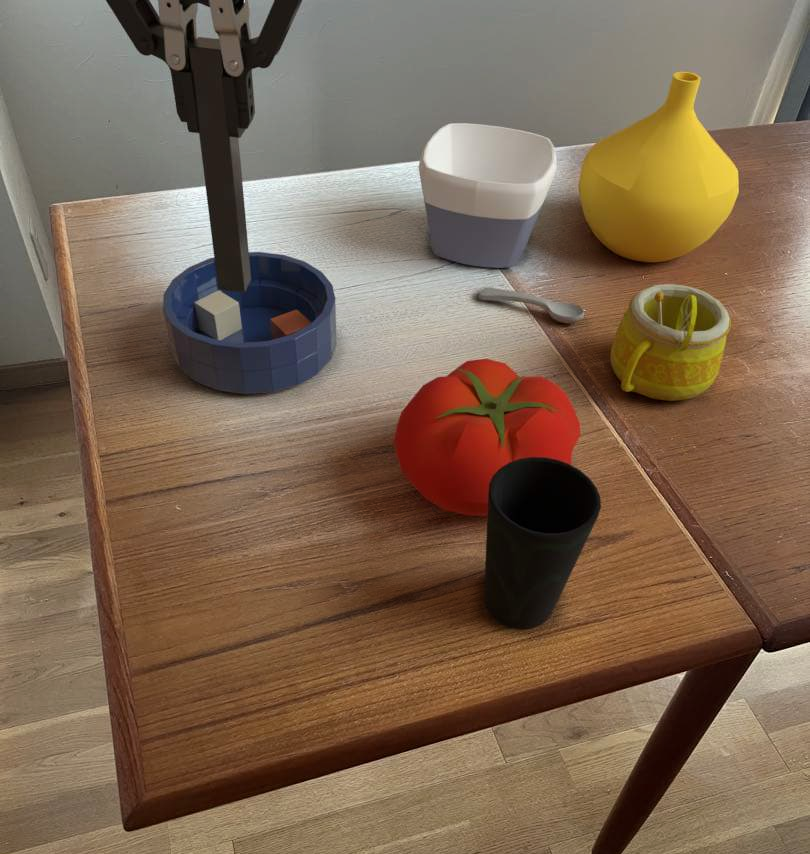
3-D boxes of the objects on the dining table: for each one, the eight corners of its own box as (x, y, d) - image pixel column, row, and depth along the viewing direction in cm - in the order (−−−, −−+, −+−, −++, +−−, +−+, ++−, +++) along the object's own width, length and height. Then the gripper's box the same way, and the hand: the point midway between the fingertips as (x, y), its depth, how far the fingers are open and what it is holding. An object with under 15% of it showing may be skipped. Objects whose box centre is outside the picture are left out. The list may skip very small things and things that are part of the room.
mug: (643, 331, 90) (675, 228, 81) (731, 378, 85) (775, 274, 76) (571, 379, 84) (597, 274, 75) (661, 433, 79) (700, 327, 70)
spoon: (578, 330, 89) (581, 314, 88) (475, 308, 93) (476, 292, 91) (586, 317, 91) (588, 300, 90) (485, 295, 95) (486, 279, 93)
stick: (217, 290, 60) (187, 46, 49) (225, 276, 62) (197, 36, 50) (244, 293, 60) (220, 49, 49) (251, 279, 62) (230, 39, 50)
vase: (725, 289, 96) (789, 119, 82) (569, 273, 97) (605, 103, 83) (705, 213, 108) (758, 53, 94) (566, 200, 109) (598, 40, 95)
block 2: (272, 345, 85) (269, 318, 82) (298, 335, 86) (297, 308, 83) (288, 361, 83) (286, 334, 80) (315, 351, 84) (313, 324, 82)
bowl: (549, 224, 105) (565, 134, 96) (531, 287, 95) (548, 193, 86) (432, 204, 107) (438, 115, 98) (402, 265, 97) (406, 171, 88)
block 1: (198, 328, 86) (194, 302, 83) (222, 316, 87) (218, 289, 85) (218, 341, 85) (214, 315, 82) (242, 329, 86) (238, 302, 84)
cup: (455, 576, 66) (470, 469, 57) (539, 553, 68) (567, 446, 59) (495, 652, 62) (519, 549, 53) (584, 624, 64) (622, 520, 55)
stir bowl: (150, 386, 80) (137, 334, 76) (202, 294, 91) (194, 243, 87) (316, 408, 79) (314, 357, 75) (349, 312, 90) (349, 262, 86)
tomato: (361, 476, 73) (361, 388, 66) (489, 402, 81) (502, 316, 73) (474, 572, 67) (488, 486, 59) (602, 482, 74) (629, 396, 67)
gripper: (3, -240, 38) (92, 144, 51) (299, -214, 37) (312, 168, 50) (68, -258, 43) (134, 96, 56) (330, -235, 42) (334, 118, 55)
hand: (218, 129), depth 53 cm, fingers closed on stick, 2 cm apart
